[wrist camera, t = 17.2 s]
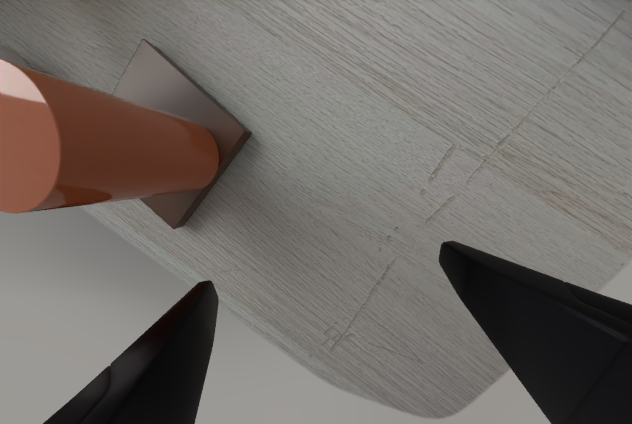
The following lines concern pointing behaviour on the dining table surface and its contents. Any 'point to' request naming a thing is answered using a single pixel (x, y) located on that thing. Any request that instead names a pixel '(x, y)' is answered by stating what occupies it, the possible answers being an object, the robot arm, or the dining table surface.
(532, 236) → the dining table surface
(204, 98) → the plate
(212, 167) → the orange cylinder
